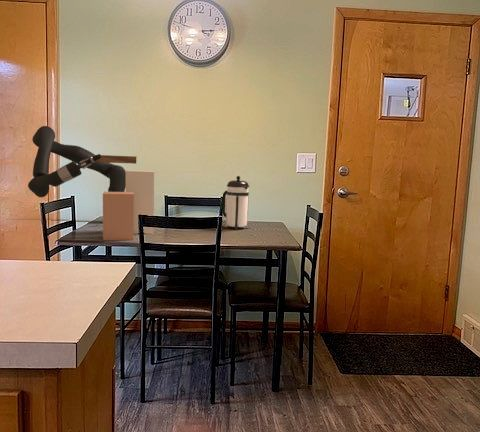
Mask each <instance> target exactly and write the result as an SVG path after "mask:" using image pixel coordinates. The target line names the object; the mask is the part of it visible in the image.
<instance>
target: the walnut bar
mask: <svg viewBox="0 0 480 432" xmlns="http://www.w3.org/2000/svg"><path fill="white" fill-rule="evenodd" d="M96 155H97V154H95V155H91V157H94V156H96ZM100 156H101V158H100V159H98V160H96V161H95V162H105V163H111V164H132V165H133V164H135V165H136V164H137V156H136V155H135V156H133V155H132V156H131V155H130V156H128V155H109V154H108V155H107V154H100Z"/></svg>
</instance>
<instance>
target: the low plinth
mask: <svg viewBox="0 0 480 432" xmlns="http://www.w3.org/2000/svg"><path fill="white" fill-rule="evenodd" d="M134 237H135V234H134V192H126V191H125V192H108V191H104V192H103V193H102V240H103V241H134Z"/></svg>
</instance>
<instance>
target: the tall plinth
mask: <svg viewBox="0 0 480 432" xmlns="http://www.w3.org/2000/svg"><path fill="white" fill-rule="evenodd" d="M125 172H126V188H125V192H134V235H139V234H138V215H139V214H141V215H148V216H155V215H154V213H155V211H154V210H155V209H154V208H155V205H154V204H155V171H154V170H139V169H136V170H135V169H125ZM154 230H155V229H154V228H144V233H145V235H154Z"/></svg>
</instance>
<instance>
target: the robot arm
mask: <svg viewBox="0 0 480 432" xmlns="http://www.w3.org/2000/svg"><path fill="white" fill-rule="evenodd" d="M55 139H56V133H55V131H54V129H53V128H52V127H50V126H48V125H42V126H40V127H38V129H37V130H36V132H35V133H34V134H33V136H32V139H31V140H32V142H33V144H34V145H35V146H36V147H38V149H37V152H36V155H35V157H34V161H33V167H32V168H33V169H32V176H33V178H32V179H31V180H29V181H28V184H27V187H28V189H29V191H30V192H31V193H33V194H34V195H35V196H36V197H37V198H44V197H46V196H47V195H48V194H49V191H50V186H52V187H54V188H55V187H58V186H61V185H63V184H64V183H67V182H69V181H72V180H73V179H75V178H77V177H79V176H81V175H82V171H81V169H83V170H84V169H86V168H87V170H88V169H89V170H91V171H95V172H97V173H99V174H101V175H103V176H104V177H106V178H108V179H109V187H108V188H107V192H126V169H125V168H124V167H123V166H122V165H117V164H115V163H105V162H95V161H96V160H98V159H100V158H101V156H100V155H101V154H100V153H98V154H94V152H92V151H90V150H88V149H86V148H84V147H81V146H79V145H72V144H64V143H60V142H58V141H56V140H55ZM51 153H53V154H55V155H57V156H59V157H62V158H64V159H67V160H69V161H71V162H68V163H67V164H65V165H62V166H61V167H60V168H58V169H57V170H54V171H53V172H51V173H49V168H50V167H49V166H50V160H51V159H50V158H51ZM91 155H96V156H94V157H91Z"/></svg>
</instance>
